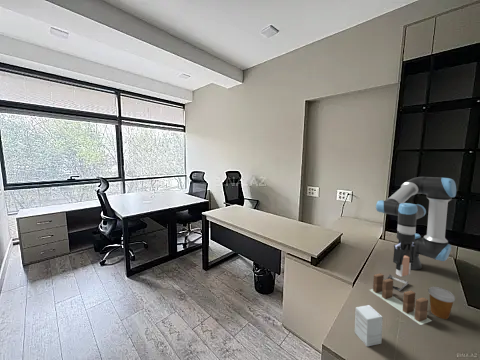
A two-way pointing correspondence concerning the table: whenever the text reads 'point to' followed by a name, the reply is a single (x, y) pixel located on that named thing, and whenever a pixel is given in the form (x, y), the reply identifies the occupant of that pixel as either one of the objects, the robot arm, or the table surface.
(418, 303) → the domino
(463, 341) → the table surface
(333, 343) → the table surface
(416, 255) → the robot arm
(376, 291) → the domino
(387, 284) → the domino
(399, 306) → the runner
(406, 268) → the domino
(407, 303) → the domino
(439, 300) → the disposable coffee cup
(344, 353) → the table surface
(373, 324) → the supplement box
